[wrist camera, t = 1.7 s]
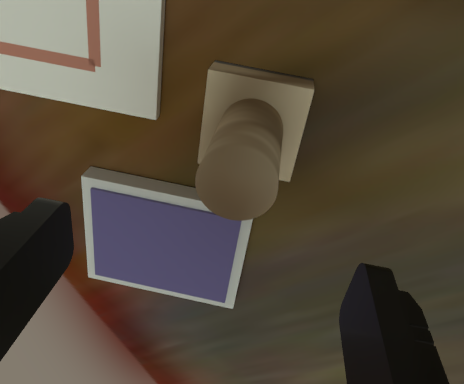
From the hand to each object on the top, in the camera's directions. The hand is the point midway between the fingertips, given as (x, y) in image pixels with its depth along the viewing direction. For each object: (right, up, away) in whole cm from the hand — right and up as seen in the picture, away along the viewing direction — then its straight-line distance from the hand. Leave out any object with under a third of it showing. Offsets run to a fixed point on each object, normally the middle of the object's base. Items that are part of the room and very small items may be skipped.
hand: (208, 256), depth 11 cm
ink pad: (-3, -1, +14) cm, 15 cm away
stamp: (+2, +6, +9) cm, 11 cm away
